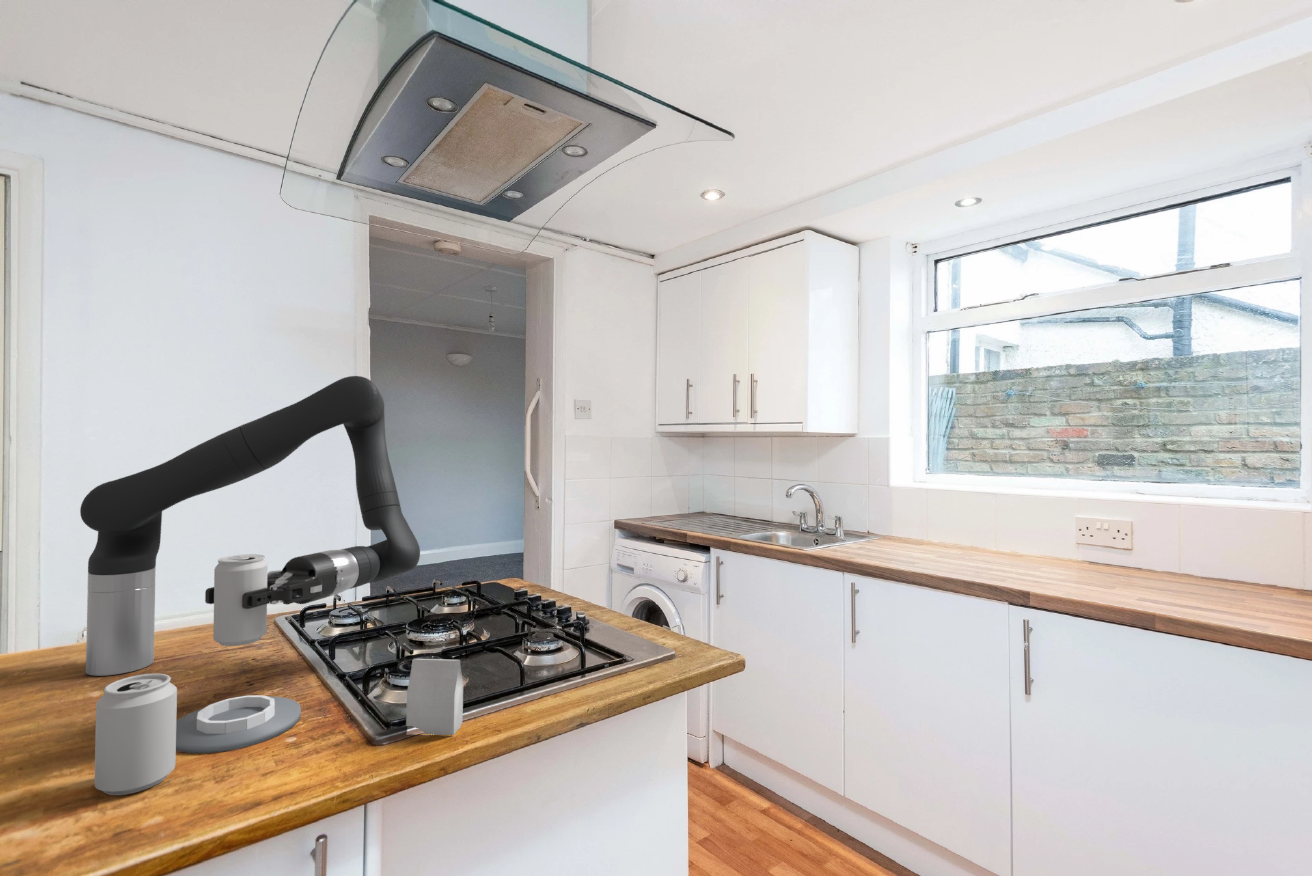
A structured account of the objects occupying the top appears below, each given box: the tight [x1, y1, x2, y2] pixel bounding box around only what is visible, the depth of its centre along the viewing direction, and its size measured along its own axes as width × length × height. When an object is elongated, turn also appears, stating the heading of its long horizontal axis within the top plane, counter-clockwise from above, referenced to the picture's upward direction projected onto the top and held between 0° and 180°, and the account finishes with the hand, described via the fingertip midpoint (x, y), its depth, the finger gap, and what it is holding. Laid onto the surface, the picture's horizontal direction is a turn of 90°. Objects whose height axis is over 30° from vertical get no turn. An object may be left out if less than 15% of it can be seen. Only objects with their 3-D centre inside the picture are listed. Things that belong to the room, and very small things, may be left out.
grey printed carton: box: [405, 658, 464, 736], centre depth 91 cm, size 4×7×10 cm, turn 89°
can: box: [93, 673, 178, 796], centre depth 76 cm, size 8×8×12 cm
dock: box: [176, 694, 302, 754], centre depth 91 cm, size 16×16×2 cm
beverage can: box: [213, 553, 268, 647], centre depth 91 cm, size 6×6×12 cm
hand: (225, 599), depth 89 cm, fingers closed on beverage can, 6 cm apart
